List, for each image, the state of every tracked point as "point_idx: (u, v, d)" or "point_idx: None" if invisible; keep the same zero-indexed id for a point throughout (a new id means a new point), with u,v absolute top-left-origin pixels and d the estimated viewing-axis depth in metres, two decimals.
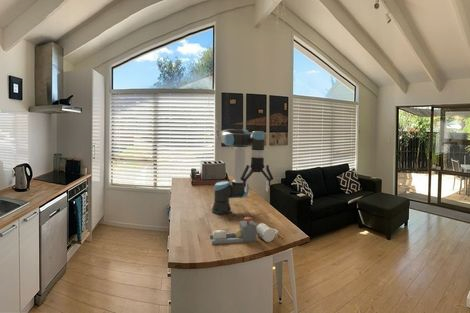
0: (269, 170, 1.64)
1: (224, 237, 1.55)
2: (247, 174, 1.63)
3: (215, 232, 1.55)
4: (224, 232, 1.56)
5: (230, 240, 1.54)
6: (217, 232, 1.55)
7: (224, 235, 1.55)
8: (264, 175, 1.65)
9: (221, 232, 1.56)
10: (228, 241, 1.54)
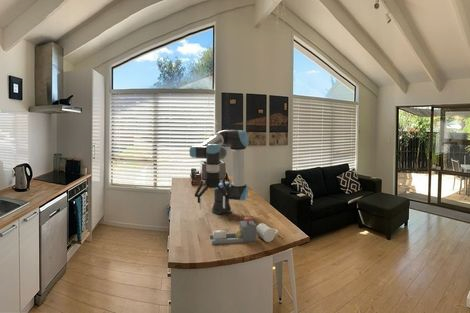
0: (225, 185, 1.54)
1: (224, 237, 1.55)
2: (202, 190, 1.53)
3: (215, 232, 1.55)
4: (224, 232, 1.56)
5: (230, 240, 1.54)
6: (217, 232, 1.55)
7: (224, 235, 1.55)
8: (220, 191, 1.55)
9: (221, 232, 1.56)
10: (228, 241, 1.54)
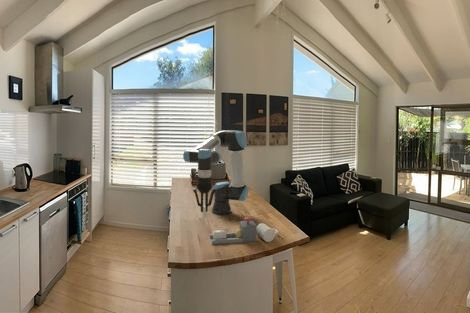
0: None
1: (224, 237, 1.55)
2: None
3: (215, 232, 1.55)
4: (224, 232, 1.56)
5: (230, 240, 1.54)
6: (217, 232, 1.55)
7: (224, 235, 1.55)
8: (205, 198, 1.53)
9: (221, 232, 1.56)
10: (228, 241, 1.54)
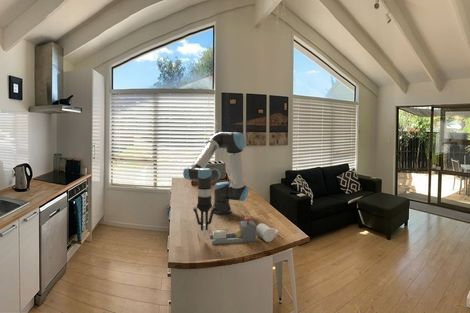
0: None
1: (224, 237, 1.55)
2: None
3: (215, 232, 1.55)
4: (224, 232, 1.56)
5: (230, 240, 1.54)
6: (217, 232, 1.55)
7: (224, 235, 1.55)
8: (205, 216, 1.54)
9: (221, 232, 1.56)
10: (228, 241, 1.54)
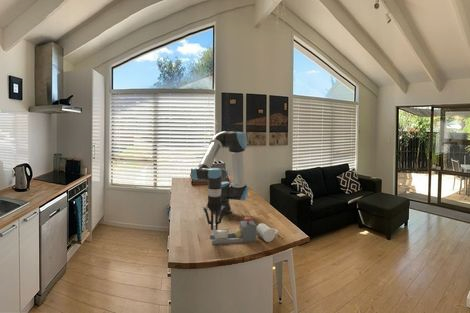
0: (223, 213, 1.55)
1: (226, 237, 1.55)
2: None
3: (217, 232, 1.55)
4: (226, 232, 1.56)
5: (230, 240, 1.54)
6: (219, 232, 1.56)
7: (226, 235, 1.55)
8: (215, 216, 1.55)
9: (223, 232, 1.56)
10: (228, 241, 1.54)
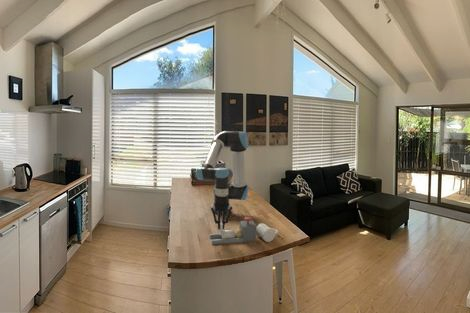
0: None
1: (233, 237, 1.56)
2: None
3: (224, 232, 1.56)
4: (233, 231, 1.57)
5: (230, 240, 1.54)
6: (226, 232, 1.56)
7: (233, 235, 1.56)
8: (222, 216, 1.56)
9: (230, 232, 1.57)
10: (228, 241, 1.54)
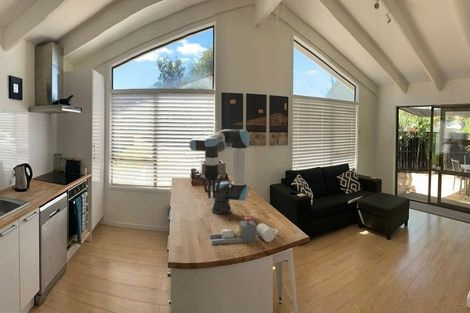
0: None
1: (232, 234, 1.57)
2: (208, 185, 1.58)
3: (223, 230, 1.58)
4: (232, 230, 1.59)
5: (230, 240, 1.54)
6: (225, 230, 1.58)
7: (232, 232, 1.57)
8: (212, 185, 1.58)
9: (229, 230, 1.58)
10: (228, 241, 1.54)
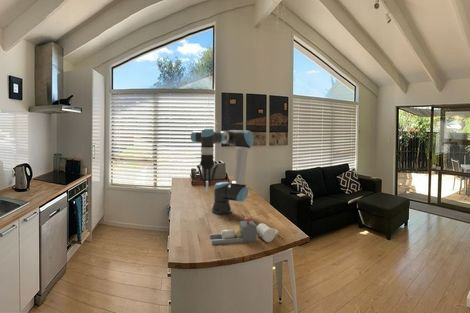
0: None
1: (232, 235, 1.57)
2: None
3: (223, 230, 1.57)
4: (232, 230, 1.58)
5: (230, 240, 1.54)
6: (225, 230, 1.57)
7: (232, 233, 1.57)
8: (208, 174, 1.67)
9: (229, 230, 1.58)
10: (228, 241, 1.54)
